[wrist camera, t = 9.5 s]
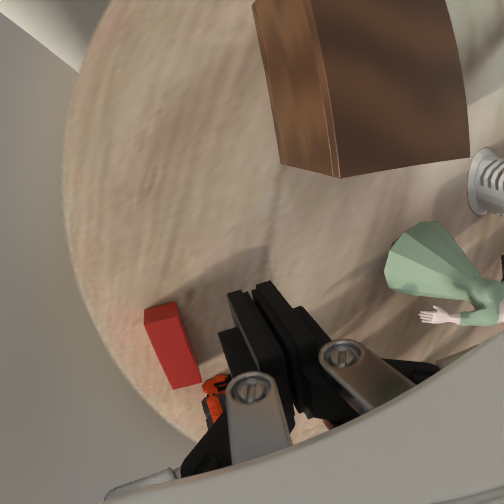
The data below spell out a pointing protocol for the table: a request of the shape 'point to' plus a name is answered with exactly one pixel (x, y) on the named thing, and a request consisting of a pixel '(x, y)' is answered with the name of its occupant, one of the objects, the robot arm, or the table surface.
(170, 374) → the red rectangular block
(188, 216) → the table surface
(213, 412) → the toy animal
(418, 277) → the character figurine
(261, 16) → the cabinet
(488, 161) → the french press
